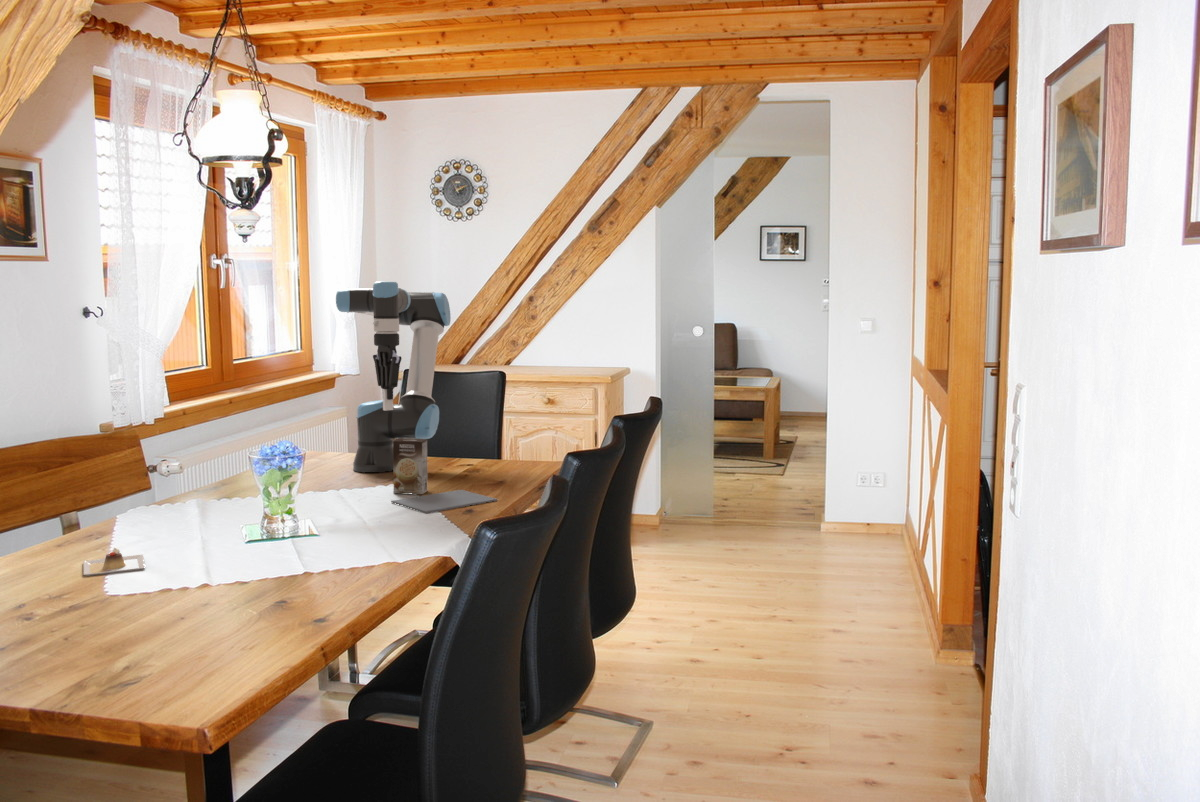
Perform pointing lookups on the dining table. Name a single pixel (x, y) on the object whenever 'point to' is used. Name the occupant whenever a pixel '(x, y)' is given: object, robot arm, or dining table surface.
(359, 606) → the dining table surface
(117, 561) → the dessert
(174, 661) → the dining table surface
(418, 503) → the mat
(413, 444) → the coffee box
